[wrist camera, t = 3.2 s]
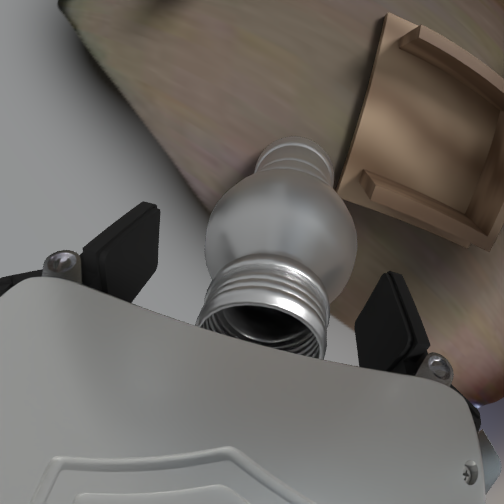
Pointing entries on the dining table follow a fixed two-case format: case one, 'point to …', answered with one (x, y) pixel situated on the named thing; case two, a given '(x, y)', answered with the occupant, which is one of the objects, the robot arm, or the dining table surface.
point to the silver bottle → (279, 251)
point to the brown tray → (430, 138)
